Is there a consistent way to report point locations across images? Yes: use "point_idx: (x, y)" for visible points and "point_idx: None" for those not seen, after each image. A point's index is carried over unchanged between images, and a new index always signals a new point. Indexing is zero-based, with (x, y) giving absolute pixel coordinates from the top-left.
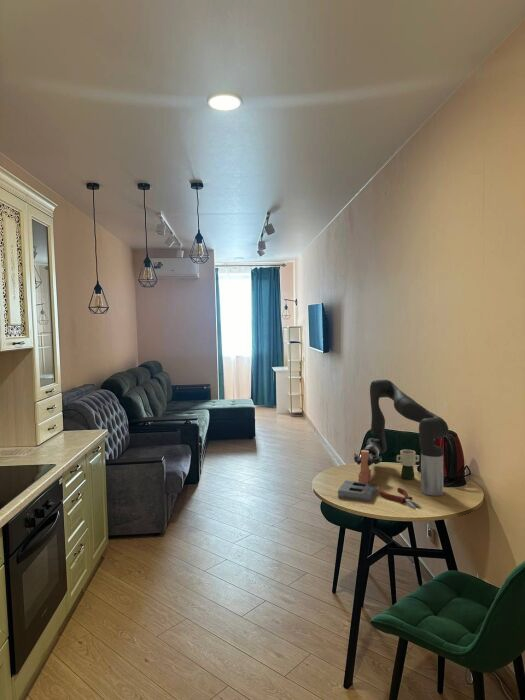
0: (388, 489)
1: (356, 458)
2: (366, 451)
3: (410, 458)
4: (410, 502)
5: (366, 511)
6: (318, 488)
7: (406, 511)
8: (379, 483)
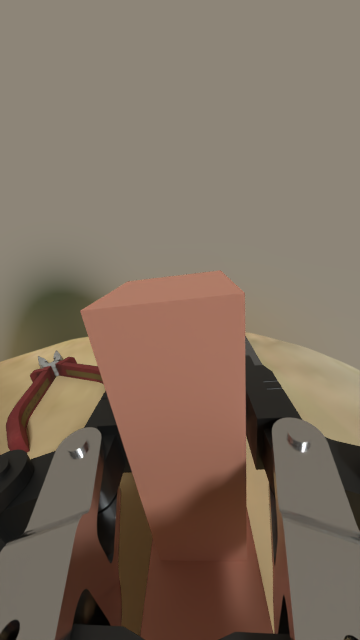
0: None
1: (350, 445)
2: (139, 286)
3: None
4: (55, 356)
5: None
6: (347, 365)
7: (82, 345)
8: None
